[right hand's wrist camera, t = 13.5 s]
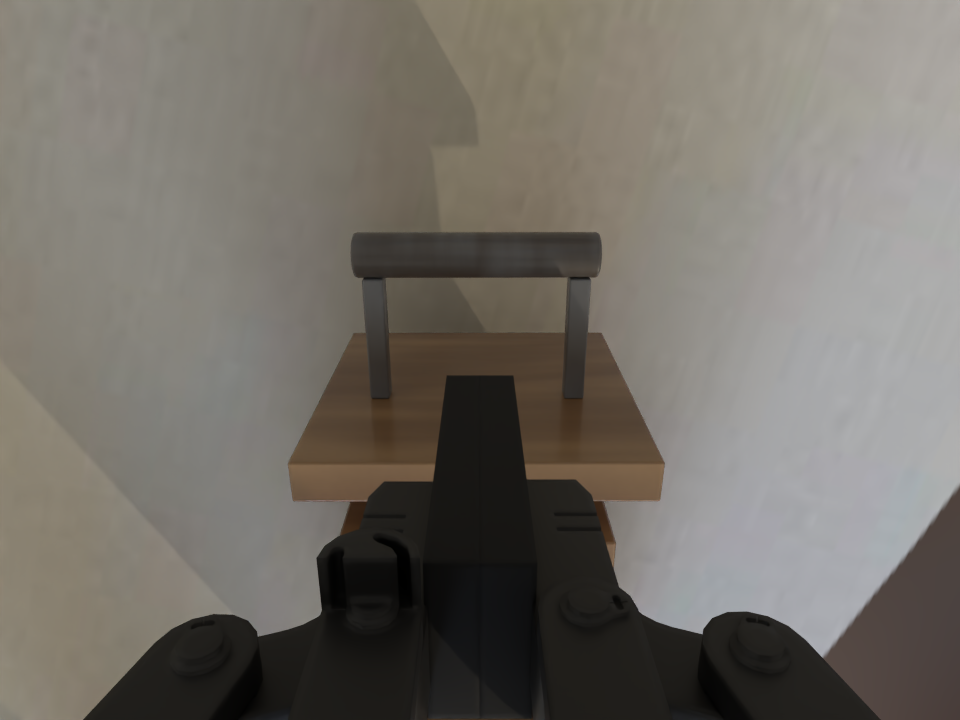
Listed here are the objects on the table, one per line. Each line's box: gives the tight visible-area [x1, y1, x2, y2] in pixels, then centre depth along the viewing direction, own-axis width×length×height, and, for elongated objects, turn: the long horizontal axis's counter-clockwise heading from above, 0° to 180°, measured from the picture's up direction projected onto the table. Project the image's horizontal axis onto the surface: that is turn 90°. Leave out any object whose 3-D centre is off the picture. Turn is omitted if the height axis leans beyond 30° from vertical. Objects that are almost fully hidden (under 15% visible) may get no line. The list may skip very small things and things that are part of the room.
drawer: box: [288, 232, 665, 718], centre depth 23 cm, size 22×10×10 cm, turn 0°
